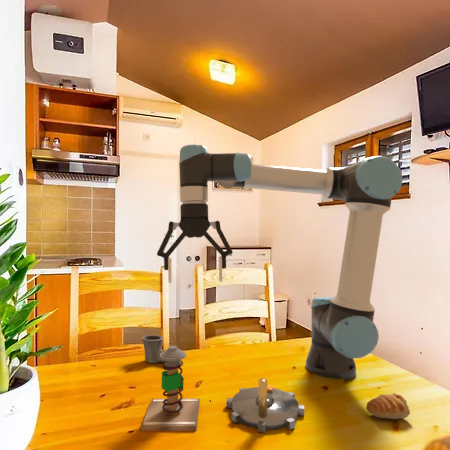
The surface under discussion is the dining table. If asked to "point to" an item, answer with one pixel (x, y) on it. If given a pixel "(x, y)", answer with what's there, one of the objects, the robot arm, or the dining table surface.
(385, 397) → the pastry
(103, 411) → the dining table surface
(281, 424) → the sprocket
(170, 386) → the shock absorber
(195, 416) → the pad
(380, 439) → the dining table surface
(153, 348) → the pipe
